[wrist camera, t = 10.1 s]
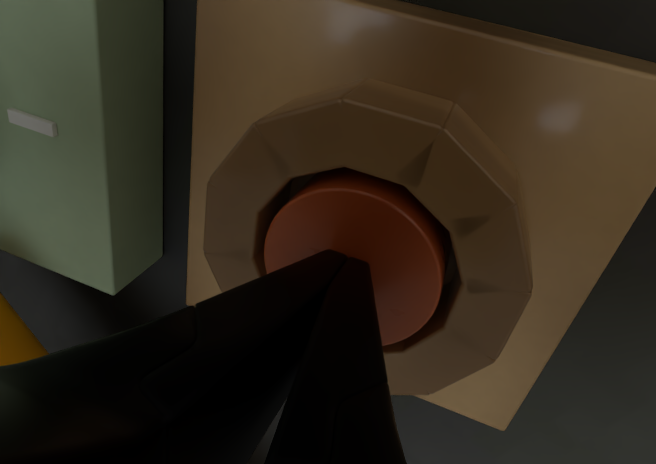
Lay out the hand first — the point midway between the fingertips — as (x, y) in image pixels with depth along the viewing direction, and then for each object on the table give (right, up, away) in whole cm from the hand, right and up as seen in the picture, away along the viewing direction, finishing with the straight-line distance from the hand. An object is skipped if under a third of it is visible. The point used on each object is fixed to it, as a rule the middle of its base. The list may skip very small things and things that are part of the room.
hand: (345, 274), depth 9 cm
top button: (+1, +1, +1) cm, 2 cm away
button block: (+1, +2, +3) cm, 4 cm away
